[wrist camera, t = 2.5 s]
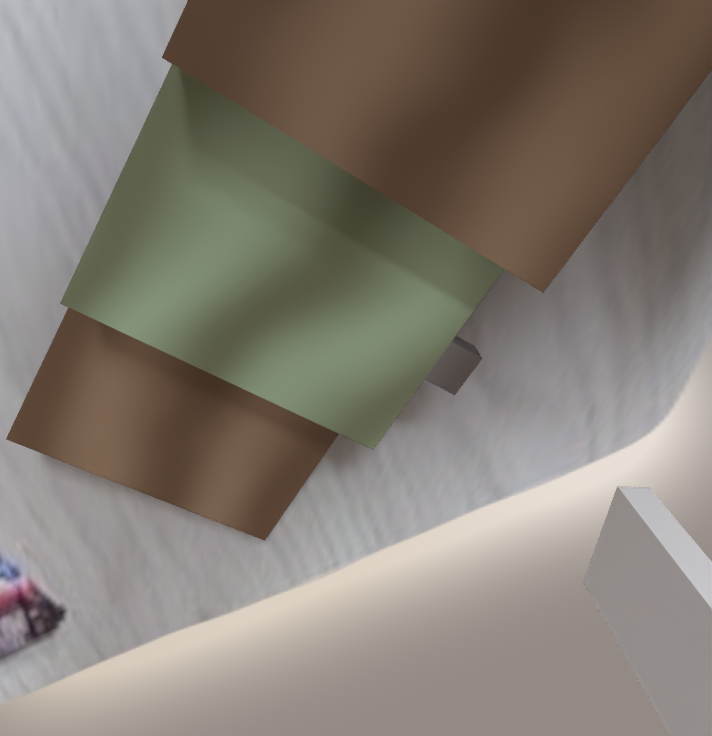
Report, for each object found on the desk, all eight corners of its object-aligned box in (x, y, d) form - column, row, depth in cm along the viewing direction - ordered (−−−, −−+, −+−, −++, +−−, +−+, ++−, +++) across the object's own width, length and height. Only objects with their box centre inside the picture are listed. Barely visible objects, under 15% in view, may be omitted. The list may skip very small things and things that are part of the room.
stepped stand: (32, 398, 36) (-68, 555, 25) (319, -202, 26) (351, -354, 15) (288, 504, 41) (294, 673, 31) (611, 37, 31) (788, 46, 20)
